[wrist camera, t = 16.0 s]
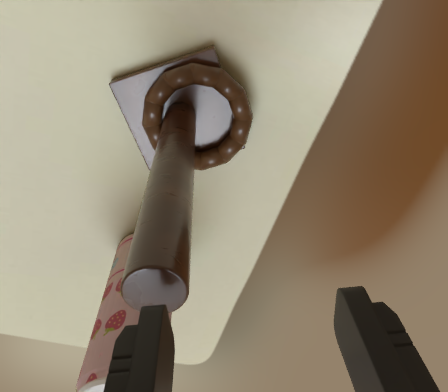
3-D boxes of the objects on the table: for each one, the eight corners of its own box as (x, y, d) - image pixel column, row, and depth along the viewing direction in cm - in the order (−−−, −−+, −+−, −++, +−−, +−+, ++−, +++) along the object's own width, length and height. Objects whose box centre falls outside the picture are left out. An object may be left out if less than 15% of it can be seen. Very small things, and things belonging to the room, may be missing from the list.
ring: (232, 46, 26) (233, 50, 25) (261, 146, 30) (264, 154, 29) (126, 83, 27) (122, 89, 26) (168, 176, 31) (167, 184, 30)
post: (213, 45, 27) (230, 162, 11) (244, 143, 31) (289, 336, 15) (111, 80, 28) (-17, 237, 12) (153, 171, 32) (102, 381, 16)
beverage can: (111, 232, 35) (57, 385, 22) (171, 225, 35) (153, 375, 22) (125, 277, 38) (85, 435, 25) (181, 271, 38) (170, 426, 25)
